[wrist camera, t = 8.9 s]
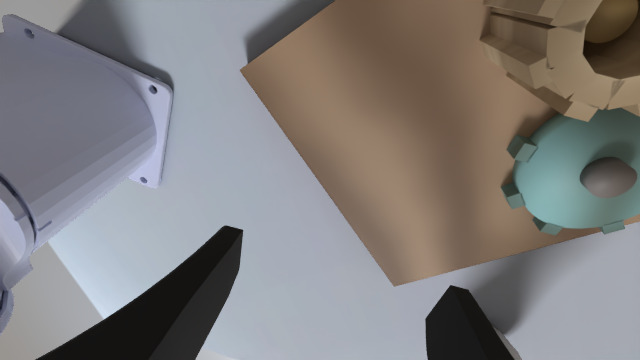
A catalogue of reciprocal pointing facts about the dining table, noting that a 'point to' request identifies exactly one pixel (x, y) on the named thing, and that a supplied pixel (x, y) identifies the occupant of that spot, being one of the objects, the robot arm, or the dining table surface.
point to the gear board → (445, 135)
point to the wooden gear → (564, 55)
